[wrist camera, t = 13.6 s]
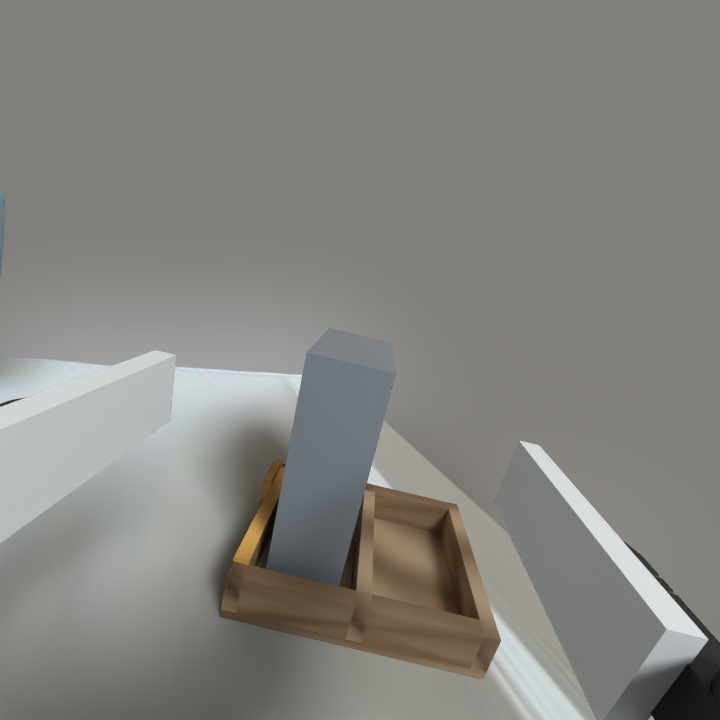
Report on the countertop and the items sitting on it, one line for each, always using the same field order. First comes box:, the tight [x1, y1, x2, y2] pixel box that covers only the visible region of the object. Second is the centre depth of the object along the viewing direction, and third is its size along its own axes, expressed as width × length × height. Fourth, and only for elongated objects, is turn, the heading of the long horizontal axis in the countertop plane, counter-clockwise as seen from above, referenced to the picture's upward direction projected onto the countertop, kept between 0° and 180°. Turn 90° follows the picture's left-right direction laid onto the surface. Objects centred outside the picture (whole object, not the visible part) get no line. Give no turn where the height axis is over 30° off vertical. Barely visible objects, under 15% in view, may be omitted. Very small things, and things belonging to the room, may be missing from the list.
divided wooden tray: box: [220, 459, 501, 679], centre depth 26 cm, size 12×18×4 cm
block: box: [266, 328, 396, 586], centre depth 24 cm, size 8×5×17 cm, turn 176°
